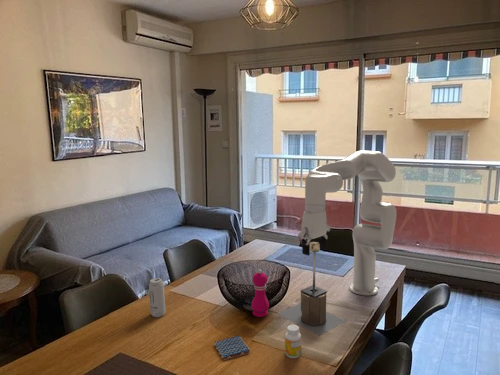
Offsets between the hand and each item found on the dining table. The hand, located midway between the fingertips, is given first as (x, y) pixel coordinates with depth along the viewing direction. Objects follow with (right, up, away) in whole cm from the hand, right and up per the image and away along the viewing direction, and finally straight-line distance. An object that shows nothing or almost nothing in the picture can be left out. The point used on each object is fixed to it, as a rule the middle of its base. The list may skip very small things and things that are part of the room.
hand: (314, 251), depth 148 cm
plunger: (0, -17, +3) cm, 17 cm away
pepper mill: (-20, -28, +11) cm, 37 cm away
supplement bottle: (-10, -33, -15) cm, 37 cm away
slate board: (0, -29, +7) cm, 29 cm away
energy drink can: (-63, -29, +13) cm, 70 cm away
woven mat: (-31, -33, -12) cm, 47 cm away
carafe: (0, -28, +5) cm, 28 cm away
